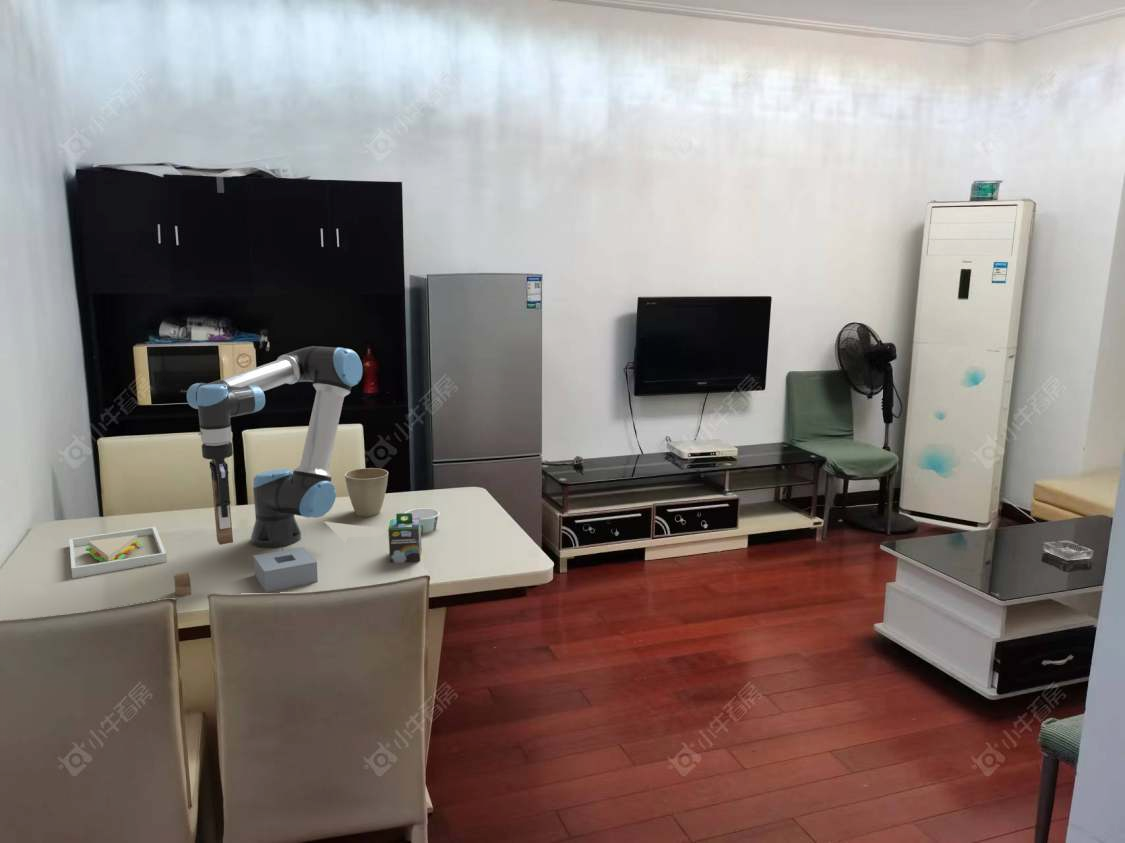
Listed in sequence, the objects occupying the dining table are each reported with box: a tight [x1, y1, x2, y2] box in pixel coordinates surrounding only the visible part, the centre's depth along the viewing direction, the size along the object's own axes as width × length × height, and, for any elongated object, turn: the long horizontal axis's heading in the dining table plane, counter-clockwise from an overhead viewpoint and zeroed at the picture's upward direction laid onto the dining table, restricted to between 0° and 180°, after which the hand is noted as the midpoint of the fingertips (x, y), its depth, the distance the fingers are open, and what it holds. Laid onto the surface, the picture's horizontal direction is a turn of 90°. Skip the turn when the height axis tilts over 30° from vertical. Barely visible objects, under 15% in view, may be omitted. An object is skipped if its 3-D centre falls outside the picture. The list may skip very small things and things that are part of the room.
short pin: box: [173, 572, 192, 597], centre depth 213 cm, size 4×4×5 cm
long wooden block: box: [211, 477, 234, 546], centre depth 216 cm, size 4×4×18 cm
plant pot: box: [344, 467, 389, 518], centre depth 280 cm, size 15×15×16 cm
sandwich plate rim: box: [68, 526, 168, 579], centre depth 241 cm, size 29×24×3 cm
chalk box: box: [387, 512, 423, 564], centre depth 240 cm, size 9×9×15 cm
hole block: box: [253, 546, 319, 593], centre depth 224 cm, size 14×14×6 cm
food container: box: [403, 507, 441, 534], centre depth 265 cm, size 12×12×6 cm
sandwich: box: [85, 535, 145, 563], centre depth 237 cm, size 15×20×5 cm
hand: (223, 525), depth 217 cm, fingers closed on long wooden block, 3 cm apart
